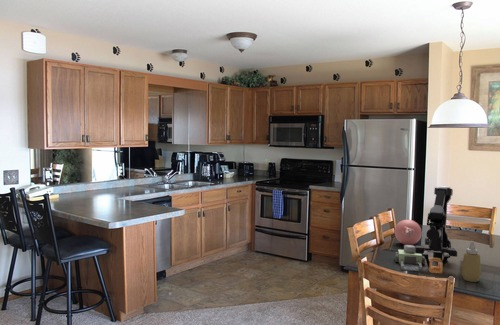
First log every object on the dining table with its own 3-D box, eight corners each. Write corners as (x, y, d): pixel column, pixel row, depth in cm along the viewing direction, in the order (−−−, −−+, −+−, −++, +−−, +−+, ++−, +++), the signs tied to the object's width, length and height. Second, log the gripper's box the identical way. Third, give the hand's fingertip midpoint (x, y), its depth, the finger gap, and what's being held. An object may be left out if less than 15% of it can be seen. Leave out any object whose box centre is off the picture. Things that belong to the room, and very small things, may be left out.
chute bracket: (420, 265, 216) (420, 261, 216) (422, 271, 206) (422, 267, 206) (400, 263, 219) (400, 259, 219) (401, 269, 208) (401, 265, 208)
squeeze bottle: (474, 277, 198) (476, 239, 197) (484, 283, 190) (486, 243, 189) (457, 277, 198) (459, 239, 197) (467, 283, 190) (468, 243, 189)
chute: (439, 268, 212) (440, 258, 212) (442, 273, 204) (442, 263, 203) (427, 266, 214) (428, 257, 213) (429, 272, 205) (430, 262, 205)
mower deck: (423, 260, 225) (423, 245, 224) (424, 265, 216) (425, 250, 215) (394, 258, 229) (395, 243, 228) (395, 263, 220) (395, 247, 219)
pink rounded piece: (391, 247, 251) (392, 222, 250) (396, 240, 269) (396, 216, 268) (419, 251, 244) (420, 224, 243) (422, 243, 262) (423, 218, 261)
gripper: (454, 234, 213) (452, 265, 214) (414, 231, 218) (413, 261, 219) (458, 239, 202) (456, 271, 203) (416, 236, 207) (415, 268, 208)
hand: (434, 268), depth 209 cm, fingers closed on chute, 6 cm apart
